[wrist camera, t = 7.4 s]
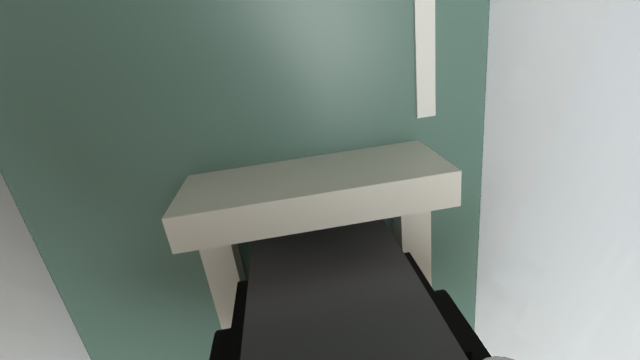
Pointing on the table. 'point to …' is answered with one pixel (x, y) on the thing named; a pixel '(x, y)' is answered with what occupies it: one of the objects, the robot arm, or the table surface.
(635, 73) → the table surface
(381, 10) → the board
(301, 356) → the plug
